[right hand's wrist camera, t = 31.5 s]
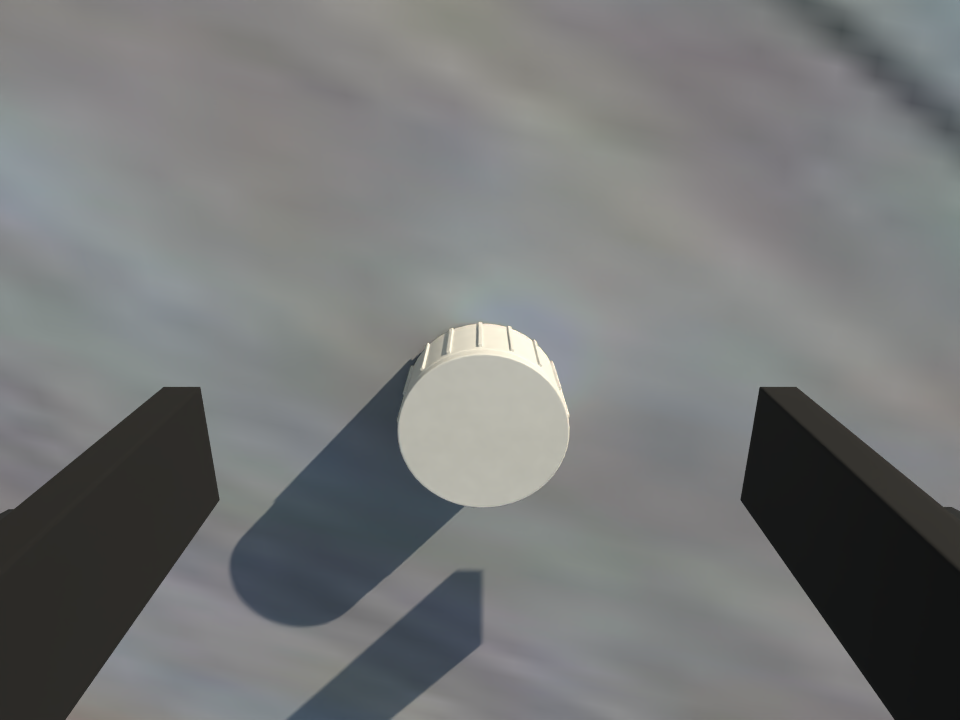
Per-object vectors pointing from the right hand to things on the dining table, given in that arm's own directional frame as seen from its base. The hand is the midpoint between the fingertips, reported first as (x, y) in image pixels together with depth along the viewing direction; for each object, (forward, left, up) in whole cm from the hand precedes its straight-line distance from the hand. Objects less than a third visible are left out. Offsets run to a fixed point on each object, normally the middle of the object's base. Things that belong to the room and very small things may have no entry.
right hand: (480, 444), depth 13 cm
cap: (0, 0, -1) cm, 1 cm away
